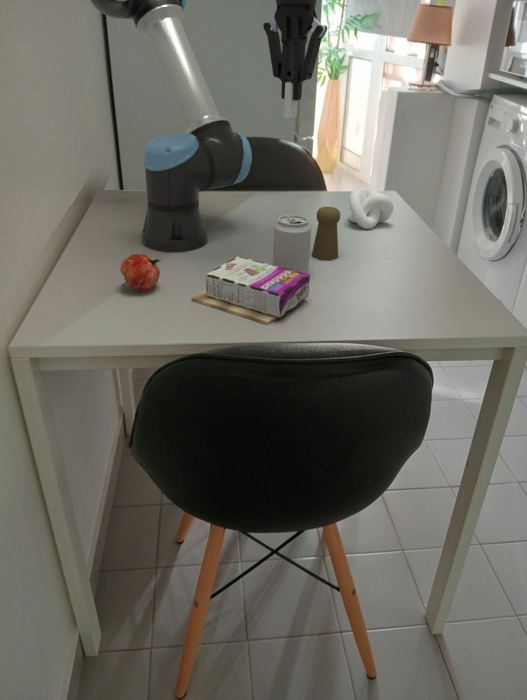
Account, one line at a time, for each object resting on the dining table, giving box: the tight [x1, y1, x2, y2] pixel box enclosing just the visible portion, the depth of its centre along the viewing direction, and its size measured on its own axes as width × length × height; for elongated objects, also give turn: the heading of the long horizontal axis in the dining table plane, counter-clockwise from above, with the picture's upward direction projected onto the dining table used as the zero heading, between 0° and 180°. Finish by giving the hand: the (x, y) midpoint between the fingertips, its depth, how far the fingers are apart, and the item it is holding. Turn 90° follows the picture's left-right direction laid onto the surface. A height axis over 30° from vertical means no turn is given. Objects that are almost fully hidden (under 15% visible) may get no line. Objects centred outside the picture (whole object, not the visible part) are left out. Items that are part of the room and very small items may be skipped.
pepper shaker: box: [311, 206, 341, 261], centre depth 135 cm, size 6×6×11 cm
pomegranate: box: [119, 253, 162, 292], centre depth 118 cm, size 7×7×10 cm
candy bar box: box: [205, 255, 311, 319], centre depth 115 cm, size 11×5×16 cm
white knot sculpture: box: [347, 186, 394, 230], centre depth 156 cm, size 11×12×9 cm
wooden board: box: [191, 288, 279, 325], centre depth 117 cm, size 17×15×1 cm
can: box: [272, 214, 312, 274], centre depth 125 cm, size 8×8×12 cm
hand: (290, 117), depth 123 cm, fingers closed
